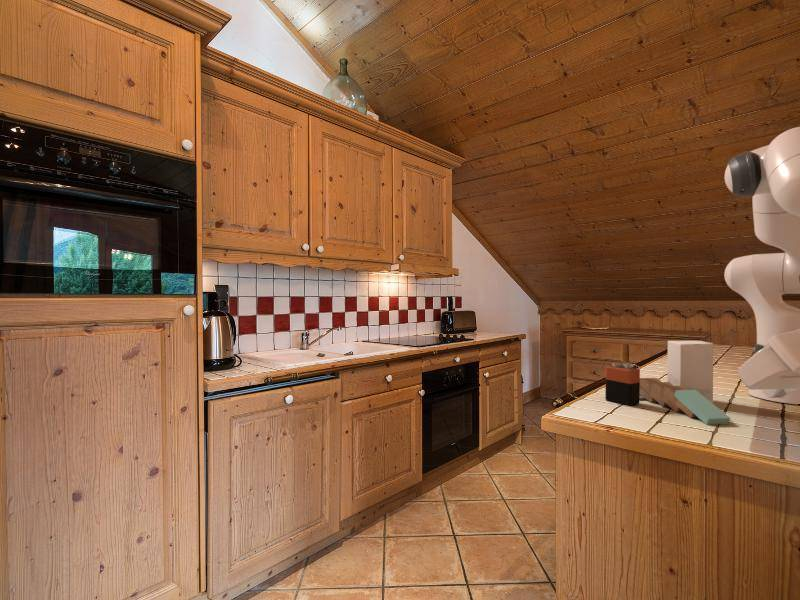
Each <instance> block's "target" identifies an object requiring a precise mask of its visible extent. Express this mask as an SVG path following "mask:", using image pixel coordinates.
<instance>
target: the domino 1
mask: <svg viewBox="0 0 800 600" xmlns="http://www.w3.org/2000/svg"><path fill="white" fill-rule="evenodd" d="M640 395H641V396H642V397H644V398H645V399H647V400H646V401H648V402H650V403H651V402H657V401H656V400H655V399H654V398H653V397H652V396H651V395H650V394H649V393H648V392H647V391H646V390H645V389H644V388H642V387H641V386H640Z"/></svg>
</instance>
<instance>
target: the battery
mask: <svg viewBox="0 0 800 600" xmlns="http://www.w3.org/2000/svg"><path fill="white" fill-rule="evenodd" d="M640 378H641V369H640V368H638V367H635V365H634V364H629V363H625V364H623V365H620V363H619V362H612V365H607V366H606V367H605V397H604V398H605V400H606V401H607V402H610V401H611V403H615V404H618V405H623V406H627V405H628V407H632V406H636V405H639V404H640V400H639V395H640Z"/></svg>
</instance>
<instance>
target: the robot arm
mask: <svg viewBox="0 0 800 600" xmlns="http://www.w3.org/2000/svg"><path fill="white" fill-rule="evenodd" d="M726 165H727V166H726V168H725V170H724V182H725V185H726V187H727V189H728V190H729V191H730V193H731V194H732V195H733V196H736V197H737V198H748V197H749V198H751V197H752V201H751V202H752V203H751V204H752V216H753V218H752V219H753V226H754V229H753V230H754V234H755V236H756V238H757V239H758V240H759V241H760V242H762V244H763V243H764V244H765V245H768V246H771V247H772V246H773V247H775V248H778V249H781V250H782V251H783V252H776V253H757V254H756V253H755V254H749V255H742V256H739V257H735V258H733V259H732V260H730V261H729V263H727V265H726V267H725V269H724V273H723V274H724V280H725V283H726V285H727V286H728V288H730V290H732V291H734V292H735V293H737V294H739V295H740V296H741V297H742V298H744V300H745V301H746V302H747V303H748V304H749V306H750V307H751V308H752V311H753V313H754V317H755V324H756V326H755V327H756V343H755V344H754V348H753V351H754V353H753V355H751V357H749V358H748V359H747V360H746V361H745V362H743V363H742V365H740V367H739V368H738V370H737V376H738V377H739V379H740V380H741V381H742V383H743V384H744V386H745V387H746V388H747V394H748V395H749V396H751V397H755V398H759V399H762V400H767V401H770V402H778V403H784V404H792V405H798V404H800V308H798V307H795V306H793V305H790V304H787V303H786V302H785V301H784V300H783V295H787V294H790V295H791V294H792V295H797V294H798V295H800V126H797V127H793V128H790V129H787V130H786V131H783V132H782V133H780V134H778V135H777V136H775V138H774V139H772V140H771V141H770V143H769V144H768V145H765V146H761V147H758V148H756V149H753V150H750V151H749V150H747V151H744V152H741V153H739V154H737V155H735V156H733V157H732V158H731V159H729V161H728V162H727V164H726Z"/></svg>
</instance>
